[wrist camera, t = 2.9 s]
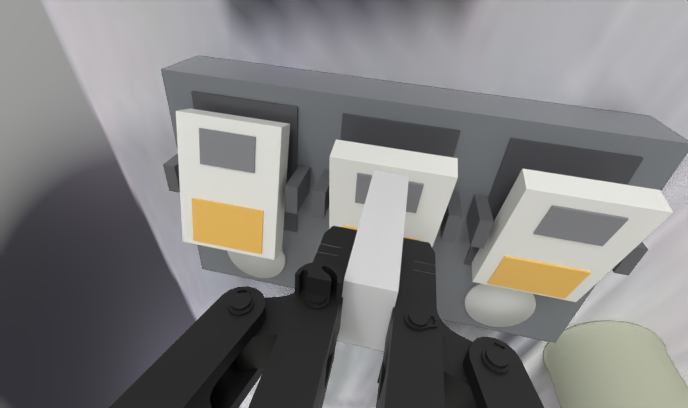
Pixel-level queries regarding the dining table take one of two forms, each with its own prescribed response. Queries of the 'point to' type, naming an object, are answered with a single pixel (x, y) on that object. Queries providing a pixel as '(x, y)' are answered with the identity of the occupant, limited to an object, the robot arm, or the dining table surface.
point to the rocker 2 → (565, 233)
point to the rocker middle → (423, 170)
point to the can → (613, 368)
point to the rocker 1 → (232, 181)
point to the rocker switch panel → (431, 138)
